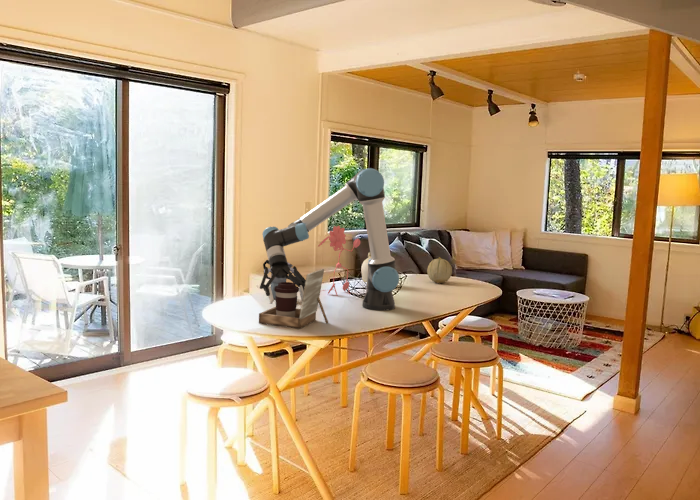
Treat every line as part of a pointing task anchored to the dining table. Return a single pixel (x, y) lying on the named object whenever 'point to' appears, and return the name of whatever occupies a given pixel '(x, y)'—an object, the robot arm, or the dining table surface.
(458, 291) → the dining table surface
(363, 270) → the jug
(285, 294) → the coffee cup
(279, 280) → the moka pot
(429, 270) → the cantaloupe
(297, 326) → the cold frame
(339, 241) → the figurine
